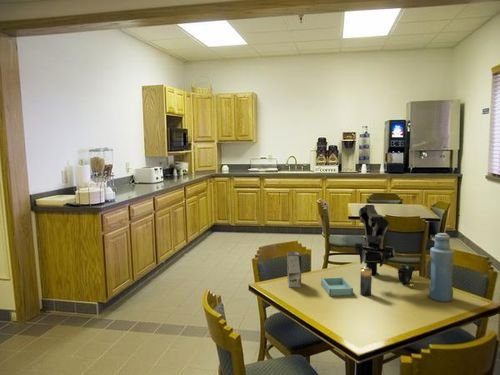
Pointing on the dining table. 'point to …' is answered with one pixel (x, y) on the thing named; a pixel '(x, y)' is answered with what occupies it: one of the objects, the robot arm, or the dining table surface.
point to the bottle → (441, 269)
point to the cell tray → (337, 286)
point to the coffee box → (294, 269)
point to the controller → (405, 273)
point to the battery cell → (365, 281)
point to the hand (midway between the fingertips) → (370, 264)
